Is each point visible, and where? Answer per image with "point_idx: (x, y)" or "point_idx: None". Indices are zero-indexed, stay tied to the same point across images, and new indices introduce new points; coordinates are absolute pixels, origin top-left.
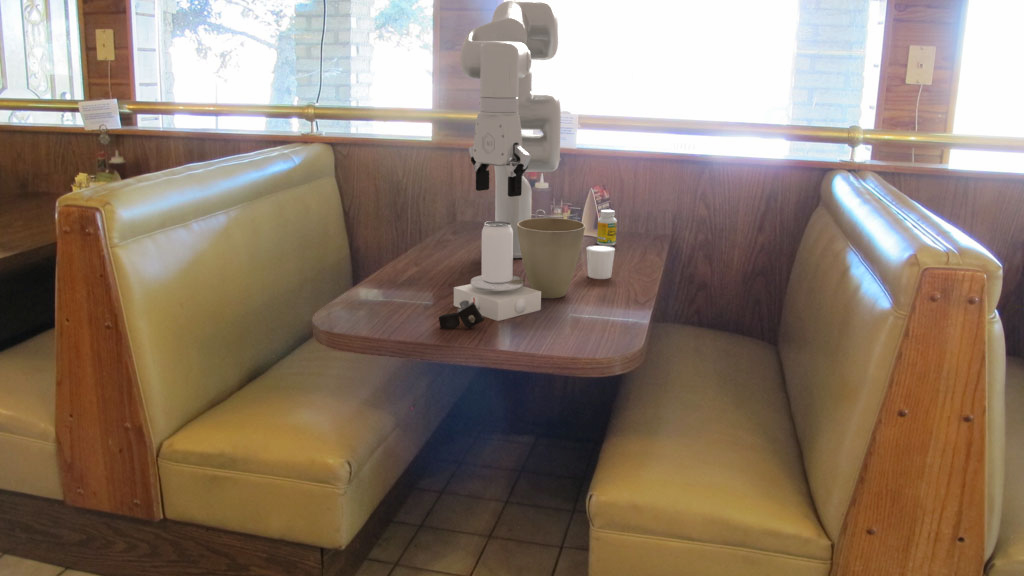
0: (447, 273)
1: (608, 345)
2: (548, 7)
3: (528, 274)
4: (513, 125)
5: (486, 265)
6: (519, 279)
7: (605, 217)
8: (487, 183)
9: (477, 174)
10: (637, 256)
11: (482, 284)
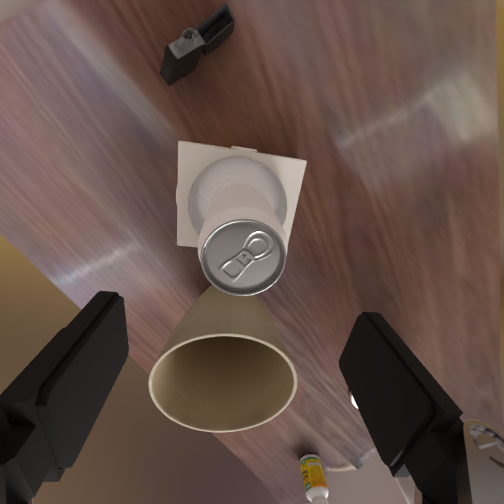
0: (405, 282)
1: None
2: None
3: None
4: None
5: (242, 187)
6: None
7: (318, 497)
8: (353, 381)
9: (426, 389)
10: (254, 447)
11: (239, 167)
